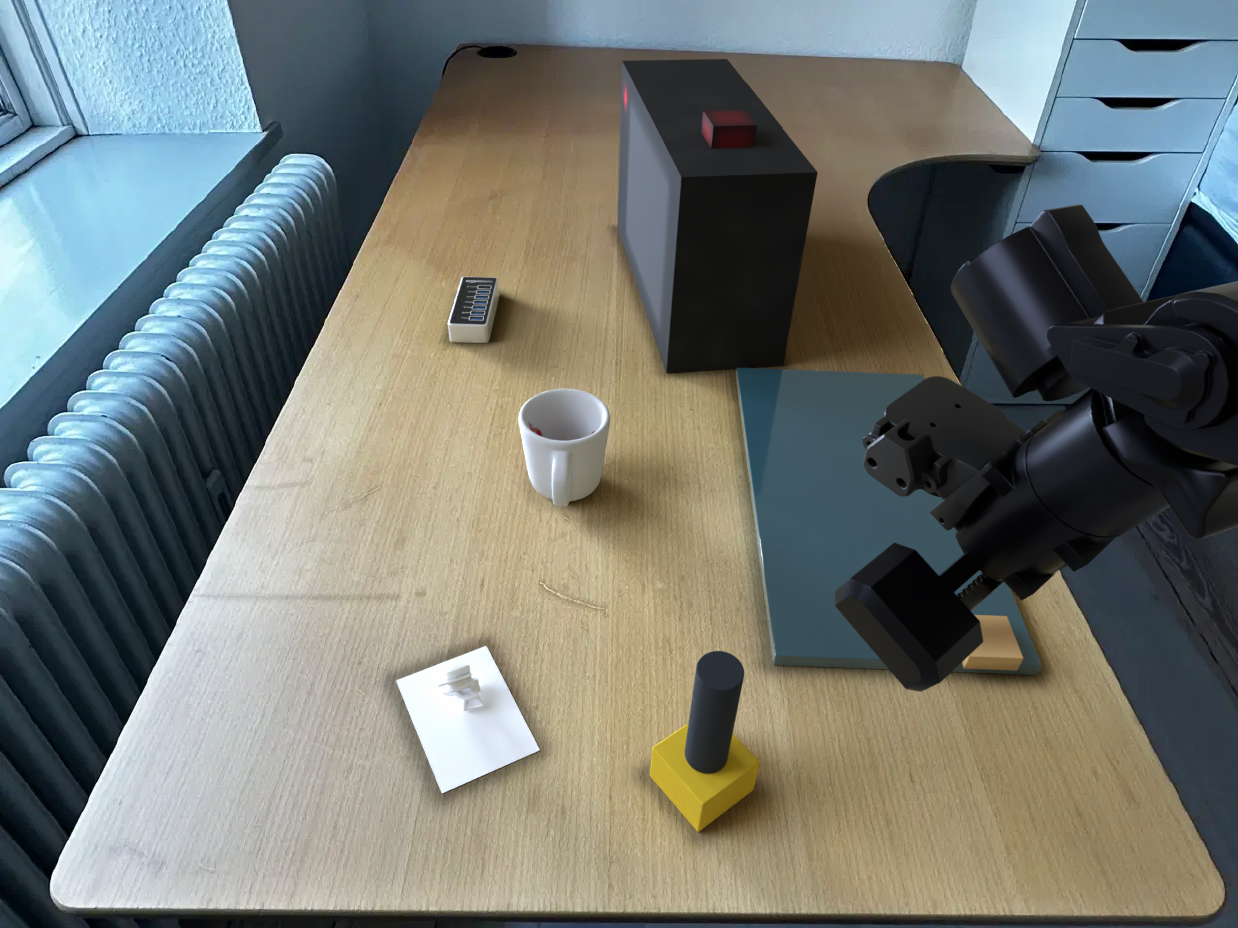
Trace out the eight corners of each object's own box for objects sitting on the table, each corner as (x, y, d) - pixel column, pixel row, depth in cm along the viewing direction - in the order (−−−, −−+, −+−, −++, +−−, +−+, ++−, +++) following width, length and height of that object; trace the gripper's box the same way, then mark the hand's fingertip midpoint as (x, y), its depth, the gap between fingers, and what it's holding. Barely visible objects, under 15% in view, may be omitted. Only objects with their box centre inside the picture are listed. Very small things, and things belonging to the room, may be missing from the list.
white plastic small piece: (475, 680, 66) (472, 653, 64) (488, 707, 64) (486, 680, 62) (436, 695, 64) (431, 669, 62) (448, 723, 63) (444, 697, 61)
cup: (606, 536, 77) (608, 467, 72) (514, 533, 77) (510, 464, 72) (609, 456, 85) (611, 388, 80) (526, 453, 85) (522, 386, 80)
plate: (1037, 675, 67) (1042, 665, 67) (773, 665, 67) (775, 655, 67) (920, 383, 96) (923, 374, 95) (735, 376, 96) (736, 367, 95)
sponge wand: (754, 789, 60) (781, 677, 51) (697, 832, 57) (717, 721, 49) (704, 736, 63) (723, 622, 54) (649, 775, 60) (659, 662, 52)
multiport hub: (449, 342, 100) (447, 324, 98) (463, 292, 108) (461, 275, 107) (488, 343, 100) (487, 325, 98) (499, 294, 108) (498, 277, 107)
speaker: (725, 223, 125) (746, 40, 109) (802, 364, 98) (844, 148, 83) (617, 228, 122) (622, 41, 107) (666, 373, 96) (683, 153, 81)
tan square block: (1017, 670, 66) (1023, 658, 65) (963, 668, 66) (969, 656, 65) (1001, 628, 69) (1007, 615, 68) (949, 626, 69) (955, 613, 68)
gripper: (1069, 270, 46) (924, 419, 59) (822, 444, 38) (721, 570, 52) (1241, 430, 43) (1047, 548, 57) (1010, 653, 35) (851, 727, 49)
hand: (920, 590), depth 54 cm, fingers open, 9 cm apart
